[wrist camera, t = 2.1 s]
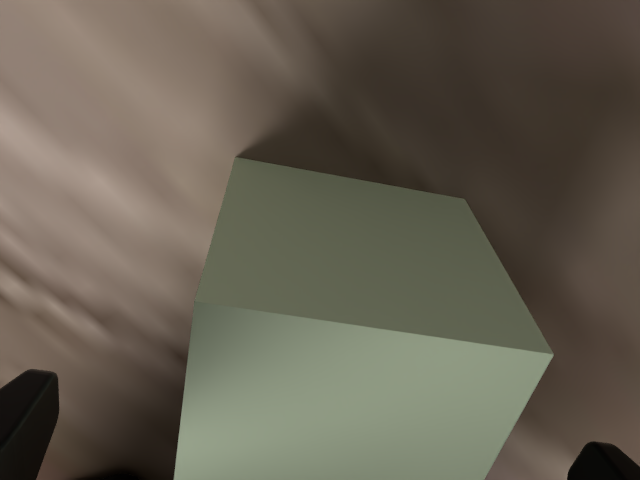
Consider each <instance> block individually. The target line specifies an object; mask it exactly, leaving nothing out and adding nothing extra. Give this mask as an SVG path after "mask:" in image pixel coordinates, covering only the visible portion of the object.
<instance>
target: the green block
mask: <svg viewBox="0 0 640 480" xmlns="http://www.w3.org/2000/svg"><path fill="white" fill-rule="evenodd" d="M553 355H554V354H553V352H552V350H551V349H550V347H549V345H548V343H547V342H546V340H545V338H544V336H543V335H542V333H541V331H540V329H539V328H538V326H537V324H536V322H535V321H534V319H533V317H532V315H531V314H530V312H529V310H528V308H527V307H526V305H525V303H524V302H523V300H522V298H521V296H520V295H519V293H518V291H517V289H516V288H515V286H514V284H513V282H512V281H511V279H510V277H509V275H508V274H507V272H506V270H505V268H504V267H503V265H502V263H501V261H500V260H499V258H498V256H497V254H496V253H495V251H494V249H493V247H492V246H491V244H490V242H489V241H488V239H487V237H486V235H485V234H484V232H483V230H482V228H481V227H480V225H479V223H478V221H477V220H476V218H475V216H474V214H473V213H472V211H471V209H470V207H469V206H468V204H467V202H466V200H465V199H462V198H456V197H451V196H446V195H440V194H435V193H429V192H424V191H418V190H413V189H407V188H402V187H396V186H391V185H386V184H380V183H375V182H369V181H364V180H358V179H353V178H347V177H342V176H336V175H331V174H326V173H320V172H315V171H309V170H304V169H298V168H293V167H287V166H282V165H276V164H271V163H266V162H260V161H255V160H249V159H244V158H238V157H235V160H234V164H233V167H232V171H231V174H230V178H229V181H228V185H227V188H226V192H225V195H224V199H223V202H222V206H221V209H220V213H219V216H218V220H217V224H216V227H215V231H214V234H213V238H212V241H211V245H210V248H209V252H208V255H207V259H206V262H205V266H204V269H203V273H202V276H201V280H200V284H199V287H198V291H197V294H196V298H195V301H194V310H193V318H192V327H191V335H190V344H189V353H188V361H187V370H186V378H185V387H184V395H183V404H182V413H181V421H180V430H179V438H178V447H177V456H176V464H175V473H174V480H484V479H485V477H486V475H487V474H488V472H489V470H490V468H491V466H492V465H493V463H494V461H495V459H496V458H497V456H498V454H499V452H500V450H501V449H502V447H503V445H504V443H505V441H506V440H507V438H508V436H509V434H510V432H511V431H512V429H513V427H514V425H515V423H516V422H517V420H518V418H519V416H520V415H521V413H522V411H523V409H524V407H525V406H526V404H527V402H528V400H529V398H530V397H531V395H532V393H533V391H534V389H535V388H536V386H537V384H538V382H539V380H540V379H541V377H542V375H543V373H544V372H545V370H546V368H547V366H548V364H549V363H550V361H551V359H552V357H553Z"/></svg>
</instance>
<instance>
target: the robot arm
mask: <svg viewBox="0 0 640 480" xmlns="http://www.w3.org/2000/svg"><path fill="white" fill-rule="evenodd" d="M58 415H59V388H58V377H57V374H56V373H54V372H51V371H44V370H36V369H30V370H27V371H25V372H23V373H22V374H20V375H19V376H18V377H16V378H15V379H13V380H12V381H11V382H9V383H8V384H6V385H5V386H3V387H2V388H1V389H0V480H36V478H37V475H38V472H39V470H40V467H41V464H42V462H43V459H44V456H45V453H46V451H47V448H48V445H49V442H50V440H51V437H52V434H53V431H54V429H55V426H56V423H57V419H58ZM101 480H139V479H138V478H137V477H135V476H132V475H129V474H117V475H113V476H110V477H107V478H104V479H101ZM567 480H640V467H639V466H638V465H637V464H636V463H635V462H634V461H633V460H631V459H630V458H629V457H628V456H627V455H626V454H624V453H623V452H622V451H621V450H620V449H619V448H617V447H616V446H615V445H612V444H609V443H602V442H594V441H593V442H589V443H587V444H586V445H585V446H584V448H583V449H582V451H581V452H580V454H579V455H578V457H577V458H576V460H575V461H574V463H573V464H572V466H571V467H570V469H569V472H568V477H567Z"/></svg>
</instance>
